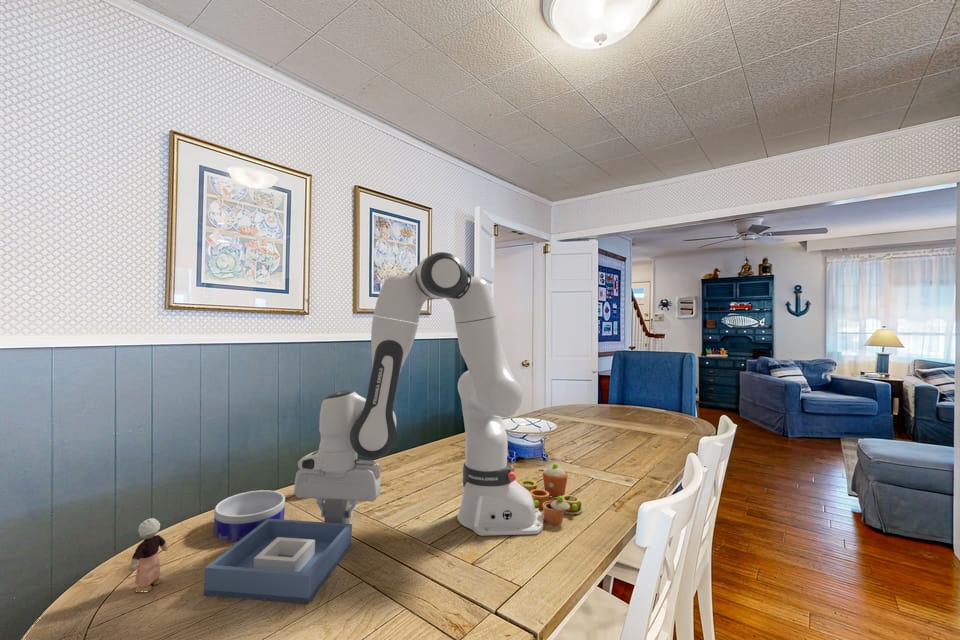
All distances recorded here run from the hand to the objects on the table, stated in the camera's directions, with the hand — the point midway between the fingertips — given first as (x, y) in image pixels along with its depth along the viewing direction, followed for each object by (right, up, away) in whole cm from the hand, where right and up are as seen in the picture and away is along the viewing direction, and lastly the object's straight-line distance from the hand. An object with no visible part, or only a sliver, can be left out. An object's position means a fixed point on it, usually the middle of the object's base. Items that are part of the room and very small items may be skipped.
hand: (337, 516), depth 102 cm
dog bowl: (-22, -4, +3) cm, 23 cm away
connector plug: (0, -3, 0) cm, 3 cm away
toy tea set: (+55, -6, +20) cm, 59 cm away
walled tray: (-6, -4, -15) cm, 16 cm away
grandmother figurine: (-28, -3, -22) cm, 36 cm away
